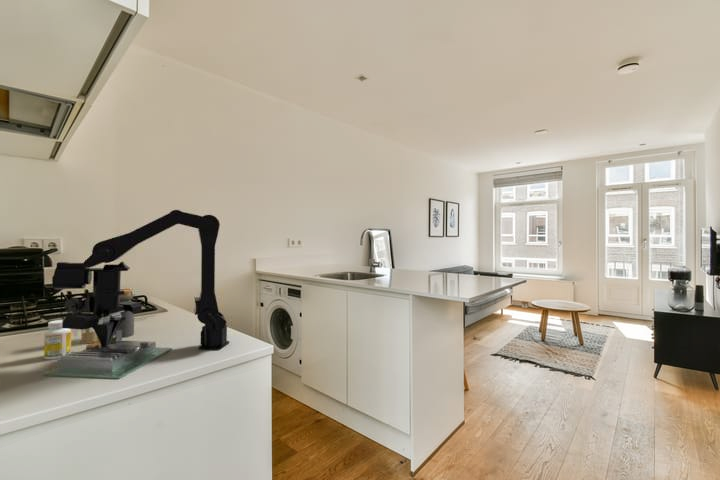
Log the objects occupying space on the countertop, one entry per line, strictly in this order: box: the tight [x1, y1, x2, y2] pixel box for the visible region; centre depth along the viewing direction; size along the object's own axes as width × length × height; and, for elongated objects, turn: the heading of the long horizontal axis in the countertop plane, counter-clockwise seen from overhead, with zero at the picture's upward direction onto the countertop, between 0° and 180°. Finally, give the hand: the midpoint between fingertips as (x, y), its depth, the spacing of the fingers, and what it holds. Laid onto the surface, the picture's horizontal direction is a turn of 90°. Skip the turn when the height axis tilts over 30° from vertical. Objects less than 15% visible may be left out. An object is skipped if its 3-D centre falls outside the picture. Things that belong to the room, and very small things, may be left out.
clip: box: [97, 330, 123, 342], centre depth 90 cm, size 3×5×3 cm, turn 177°
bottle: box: [118, 288, 135, 339], centre depth 107 cm, size 6×6×15 cm
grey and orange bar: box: [85, 341, 144, 352], centre depth 85 cm, size 14×3×1 cm, turn 87°
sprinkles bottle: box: [80, 298, 100, 345], centre depth 101 cm, size 5×5×14 cm
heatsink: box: [43, 339, 173, 380], centre depth 85 cm, size 19×19×4 cm
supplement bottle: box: [43, 319, 72, 360], centre depth 89 cm, size 5×5×10 cm
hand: (104, 346), depth 86 cm, fingers closed, pressing on grey and orange bar
